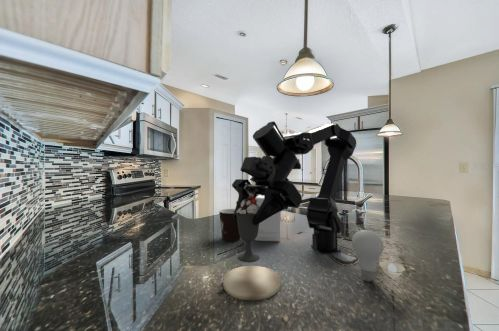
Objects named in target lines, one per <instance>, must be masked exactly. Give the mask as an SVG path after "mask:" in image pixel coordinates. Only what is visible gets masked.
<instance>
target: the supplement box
mask: <svg viewBox="0 0 499 331" xmlns="http://www.w3.org/2000/svg"><path fill="white" fill-rule="evenodd" d="M255 199H256V200H257V203H256V204H257V205H258V206H259V207H260V206H261V204H262V202H263V201H264V196H262V195H259V194H257V197H256V198H255ZM281 212H282V211H280V212H278V213H276V214H274V215H273V216H271V217H269V218H267V219H266V220H264V221H263V222H261V223H259V230H258V235H257V237H256V238H255V240H254V241H260V242H262V241H263V242H276V243H277V242H279V243H280V242H281V233H282V232H281V226H282V225H281V224H282V223H281V222H282V221H281V220H282V219H281V218H282V216H281V215H282V213H281Z"/></svg>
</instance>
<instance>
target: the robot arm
mask: <svg viewBox="0 0 499 331" xmlns="http://www.w3.org/2000/svg"><path fill="white" fill-rule="evenodd" d="M252 138H253V141H254V142H255V143H256V145H257V146H258V147H259V149H260V150H261V151H262V153H263V154H264V155H263V156H262V157H260V156H258V157H257V156H249V157H248V156H247V157H244V158H243V162H242V164H241V166H240V171H241V172H242V173H246V174H247V175H249V176H251V178H250V179H251V181H252V183H255V184H252V183H251V181H250V180H249V179H245V178H243V179H242V178H238V179H235V180H234V181H233V182H232V184H231V186H232V188H233V189H234V190H235V191H236V192H237V194H238V198H237V201H238V202H240V203H241V202H242V201H243V200H245V199H248V197H249V196H251V195H252V194H253V195H254V199H255V198H256V197H257V196H258V195H262V196H264V201H263V202H262V204H261V206H260V208H259V209H258V211H257V213H256V215H255V216H254V219H253V221H252V223H253V224H254V225H255V226H256V225H258V224H259V223H261V222H263V221H264V220H266V219H267V218H269V217H271V216H273V215H274V214H276V213H278V212H280V211H281V212H282V211H284V210H288V209H289V208H293V209H298V208H299V207H300V205H301V204H302V202H303V196H302V194H301V193H300V191H299V190H298V188H297V187H296V185H295V184H294V183H293V182H292V181H291V180H290V179H289V178H288V177H289V175H290V174H291V173H292V171H293V170H301V169H302V165H301V163H300V159H299V158H298V157H297V156H300V155H307V154H308V153H310V152H311V151H312V150H314V148H315V147H314V146H315V145H316V144H319V143H321V142H324V145H325V147H327V149H326V150H327V152H328V154H329V160H328V163H327V166H326V170H325V173H324V177H323V179H322V183H321V186H320V190H319V192H318V195H317V196H316V197H310V199H309V202H308V206H307V208H306V219H307V224H308V228H309V229H313V233H312V237H311V238H312V240H311V241H312V244H311V245H310V248H312V249H314V250H315V251H316V252H319V253H320V254H323V255H325V254H326V255H327V254H335V253H342V252H341V251H342V250H341V249H339V248H338V234H340V233H342V231H343V226H344V224H343V221H342V220H341V218H340V216H338V213H339V210H338V206H337V204H336V202H335V201H336V197H337V193H338V190H339V186H340V182H341V179H342V176H343V175H342V174H343V171H344V166H345V164H346V161H347V160H348V159H349V158H350V157H352V155H354V151H355V149H356V147H357V139H356V138H355V137H354V135H353V134H352V132H350V131H349V130H347V129H344V128H342V127H341V126H340V125H339V124H338V123H329V124H328V123H327V124H324V125H322V126H321V127H318V128H315V129H312V130H309V131H306V132H305V131H303V132H297V133H292V134H286V135H283V134H282V132H281V131H280V129H279V127H278V125H277V123H276V122H275V121H274V120H273V121H270V122H268V123H267V124H265V125H264V126H262V127H260V128H258V130H256V131H255V132H254V133H253V135H252ZM255 189H257V190H258V191H257V192H256V191H255ZM254 191H255V192H256V193H255V192H254ZM253 192H254V193H255V194H254V193H253ZM253 195H252V197H253ZM234 209H235V210H237V204H236V206H235V208H234ZM233 218H234V219H235V220H237V216H236V214H235V213H234V215H233Z"/></svg>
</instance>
